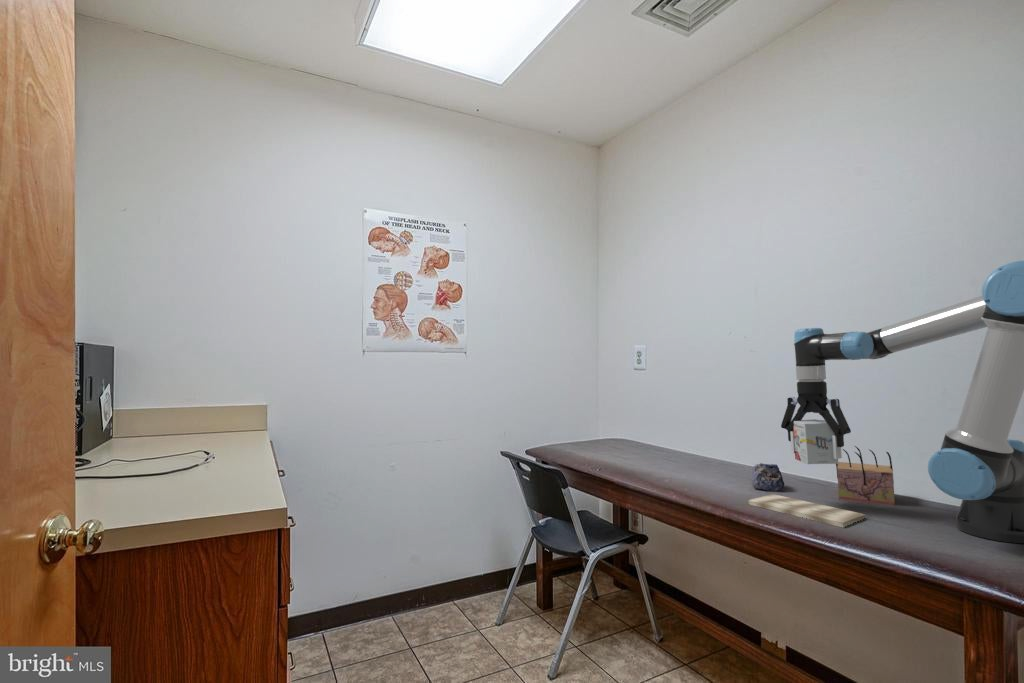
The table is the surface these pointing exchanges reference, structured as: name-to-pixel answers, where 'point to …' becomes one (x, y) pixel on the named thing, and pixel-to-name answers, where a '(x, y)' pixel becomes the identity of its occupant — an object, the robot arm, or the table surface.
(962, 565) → the table surface
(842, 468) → the anatomical model
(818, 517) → the board
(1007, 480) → the robot arm
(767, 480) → the rock
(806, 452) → the ink box
